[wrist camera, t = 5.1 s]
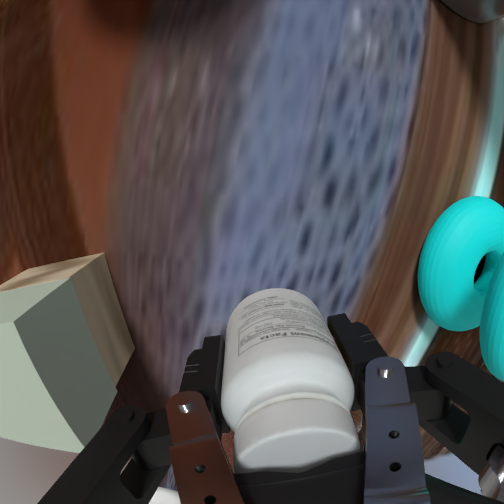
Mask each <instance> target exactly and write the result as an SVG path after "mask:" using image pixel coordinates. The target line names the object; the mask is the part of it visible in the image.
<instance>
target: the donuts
mask: <svg viewBox="0 0 504 504" xmlns="http://www.w3.org/2000/svg"><path fill="white" fill-rule="evenodd" d="M485 254H486V255H485ZM484 255H485V263H484V267H483V270H482V272H481V274H480V276H479V278H478V280H477V281H476V282H475V283H474V275H475V271H476V268H477V266H478V264H479V262H480V260H481V259H482V257H483V256H484ZM418 289H419V295H420V299H421V302H422V305H423V307H424V309H425V311H426V313H427V314H428V316H429V317H430V318H431V319H432V320H433V321H434V322H435V323H436V324H437V325H439V326H440V327H442V328H445V329H447V330H451V331H466V330H470V329H473V328H476V327H478V326H480V349H481V353H482V357H483V360H484V363H485V365H486V367H487V368H488V370H489V371H490V373H491V374H493V375H494V376H495V377H496V378H498V379H500V380H502V381H504V208H503V207H502V206H501V205H500V204H498V203H497V202H495V201H493V200H491V199H489V198H486V197H481V196H472V197H468V198H464V199H461V200H459V201H457V202H455V203H454V204H452V205H451V206H450V207H449V208H447V209H446V210H445V211H444V212H443V213H442V214H441V215H440V216H439V218H438V219H437V220H436V222H435V223H434V224H433V226H432V228H431V229H430V231H429V233H428V235H427V237H426V240H425V242H424V245H423V248H422V251H421V255H420V259H419V266H418Z"/></svg>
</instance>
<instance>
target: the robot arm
mask: <svg viewBox="0 0 504 504" xmlns="http://www.w3.org/2000/svg"><path fill="white" fill-rule="evenodd" d="M441 1H442V2H443V3H444V4H446V5H447V6H448V7H449V8H450V9H452V10H453V11H455V12H456V13H457V14H459V15H460V16H462V17H464V18H466V19H468V20H470V21H473V22H476V23H486V22H489V21H491V20H494V19H498V20H499V19H501V18H504V0H441ZM327 324H328V329H329V331H330V333H331V335H332V336H333V338H334V341H335V342H336V345H337V347H338V349H339V351H340V353H341V355H342V357H343V359H344V361H345V363H346V365H347V368H348V370H349V372H350V375H351V377H352V380H353V384H354V401H353V405H352V410H353V411H355V410H359V409H361V410H362V412H363V421H362V452H359V453H355V454H351V455H347V456H343V457H339V458H335V459H332V460H330V461H328V462H325V463H323V464H321V465H318V466H316V467H314V468H311V469H309V470H306V471H304V472H299V473H293V472H272V471H261V472H252V473H241V474H234V473H233V471H232V468H231V466H230V463H229V461H228V458H227V456H226V453H225V451H224V448H223V446H222V443H221V437H222V433H228V432H230V427H229V426H228V425H227V423H226V421H225V419H224V416H223V413H222V409H221V391H222V379H223V367H224V355H225V342H224V338H223V336H222V335H218V336H210V337H205V338H204V343H203V347H202V349H198V350H194V351H193V352H192V353H191V354H190V356H189V357H188V359H187V363H186V367H185V371H184V372H185V373H184V374H183V378H182V382H181V386H180V390H179V393H178V394H175V395H174V396H172V397H171V398H170V399H169V400H168V402H167V404H166V408H165V409H163V410H160V411H157V412H153V413H149V414H145V412H144V411H143V409H141V408H140V407H137V406H126V407H122V408H120V409H118V410H117V411H115V412H114V413H113V414H112V415H111V417H110V418H109V419H108V420H107V421H106V423H105V424H104V425H103V426H102V427H101V428H100V430H99V431H98V432H97V433H96V434H95V436H94V437H93V438H92V439H91V440H90V442H89V443H88V444H87V445H86V446H85V448H84V449H83V450H82V451H81V452H80V453H79V455H78V456H77V457H76V458H75V459H74V461H73V462H72V463H71V464H70V465H69V467H68V468H67V469H66V470H65V471H64V473H63V474H62V475H61V476H60V477H59V479H58V480H57V481H56V482H55V484H54V485H53V486H52V487H51V488H50V489H49V491H48V492H47V493H46V494H45V495H44V497H43V498H42V499H41V500H40V501H39V502H38V504H149V502H150V500H151V499H152V497H153V495H154V494H155V492H156V490H157V489H158V487H159V485H160V483H161V482H162V480H163V478H164V477H165V475H166V473H167V472H168V470H169V468H170V466H171V464H172V467H173V472H174V477H175V482H176V486H177V490H178V495H179V499H180V503H181V504H504V383H502V382H501V381H499V380H497V379H496V378H494V377H492V376H491V375H489V374H487V373H486V372H484V371H482V370H481V369H479V368H477V367H476V366H474V365H472V364H471V363H469V362H467V361H466V360H464V359H462V358H461V357H459V356H457V355H455V354H453V353H450V352H438V353H435V354H433V355H431V356H430V357H429V358H428V359H427V361H426V366H416V367H405V366H404V365H403V363H402V362H401V361H400V360H398V359H396V358H393V357H388V355H387V354H386V353H385V351H384V350H383V348H382V347H381V345H380V344H379V343H378V341H377V340H376V339H375V337H374V335H373V334H372V333H371V331H370V330H369V328H368V327H367V326H366V325H364V324H362V323H360V322H354V323H351V322H350V320H349V319H348V317H347V316H346V314H345V313H343V314H338V315H333V316H329V317H328V318H327ZM453 401H454V402H455V403H457V404H458V405H460V406H461V407H462V408H464V409H465V410H466V411H467V412H468V413H469V415H470V416H468V415H467V414H465V413H464V412H463V411H461V410H460V409H459V408H457V407H456V406H455V405H453V404H452V402H453ZM419 425H420V426H421V427H423V428H424V429H425V430H426V431H427V432H428V433H430V434H431V435H432V436H433V437H434V438H435V439H437V440H438V441H439V442H440V443H441V444H442V445H444V446H445V447H446V448H447V449H448V450H449V451H451V452H452V453H453V454H454V455H455V456H457V457H458V458H459V459H460V460H462V462H464V463H465V464H466V465H467V466H468V467H470V468H471V469H472V470H473V471H474V472H476V473H477V474H478V475H479V479H478V481H479V486H480V488H481V493H482V495H480V494H477V493H474V492H471V491H469V490H466V489H463V488H460V487H458V486H455V485H453V484H450V483H447V482H445V481H442V480H440V479H438V478H435V477H432V476H430V475H428V474H425V469H424V459H423V450H422V442H421V434H420V427H419ZM130 457H132V459H131V460H130V462H129V463H128V465H127V466H126V468H125V469H124V471H123V472H122V473H121V470H122V468H123V467H124V466H125V464H126V463H127V461H128V460H129V459H130ZM120 473H121V475H120ZM483 495H484V496H483Z"/></svg>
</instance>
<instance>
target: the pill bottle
mask: <svg viewBox="0 0 504 504" xmlns="http://www.w3.org/2000/svg"><path fill="white" fill-rule="evenodd" d="M353 401H354V384H353V380H352V377H351V375H350V372H349V370H348V368H347V365H346V363H345V361H344V359H343V357H342V355H341V353H340V351H339V349H338V347H337V345H336V342H335V341H334V338H333V336H332V335H331V333H330V331H329V329H328V327H327V325H326V323H325V321H324V319H323V318H322V316H321V314H320V312H319V310H318V308H317V307H316V305H315V304H314V303H313V302H312V301H311V300H310V299H309V298H307V297H306V296H304V295H303V294H301V293H299V292H296V291H293V290H289V289H282V288H272V289H266V290H262V291H259V292H256V293H254V294H252V295H250V296H248V297H246V298H245V299H244V300H243V301H242V302H240V304H239V305H238V306H237V307H236V308H235V309H234V311H233V313H232V314H231V316H230V319H229V321H228V325H227V332H226V342H225V355H224V367H223V379H222V391H221V409H222V413H223V416H224V419H225V421H226V423H227V425H228V426H229V427H230V428H231V430H232V431H233V432H234V433H235V435H234V440H233V445H234V471H235V474H241V473H252V472H261V471H272V472H293V473H299V472H304V471H306V470H309V469H311V468H314V467H316V466H318V465H321V464H323V463H325V462H328V461H330V460H332V459H335V458H339V457H343V456H347V455H351V454H355V453H359V452H362V447H361V443H360V439H359V437H358V434H357V431H356V428H355V425H354V422H353V419H352V417H351V414H350V410H351V408H352V405H353Z"/></svg>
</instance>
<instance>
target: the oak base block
mask: <svg viewBox="0 0 504 504" xmlns="http://www.w3.org/2000/svg"><path fill="white" fill-rule="evenodd" d="M66 278H71V280H72V283H73V286H74V289H75V292H76V295H77V298H78V300H79V303H80V306H81V309H82V311H83V314H84V317H85V319H86V322H87V325H88V327H89V330H90V332H91V335H92V337H93V339H94V342H95V344H96V346H97V349H98V351H99V353H100V356H101V358H102V360H103V362H104V364H105V367H106V369H107V371H108V373H109V375H110V377H111V379H112V381H113V383H114V385H115V387H116V385H117V383H118V381H119V379H120V377H121V375H122V373H123V371H124V369H125V367H126V365H127V363H128V361H129V359H130V357H131V355H132V353H133V351H134V349H135V347H134V344H133V342H132V339H131V336H130V333H129V331H128V328H127V325H126V322H125V319H124V316H123V313H122V310H121V307H120V304H119V301H118V298H117V295H116V292H115V288H114V285H113V282H112V278H111V275H110V271H109V268H108V264H107V261H106V257H105V253H100V254H95V255H90V256H85V257H81V258H76V259H71V260H67V261H62V262H58V263H53V264H48V265H44V266H39V267H35V268H31V269H27V270H25V271H24V272H22V273H20V274H19V275H17V276H15V277H13V278H12V279H10V280H8V281H7V282H5V283H3V284H2V285H0V292H3V291H8V290H13V289H17V288H22V287H27V286H32V285H37V284H42V283H47V282H51V281H56V280H61V279H66Z"/></svg>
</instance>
